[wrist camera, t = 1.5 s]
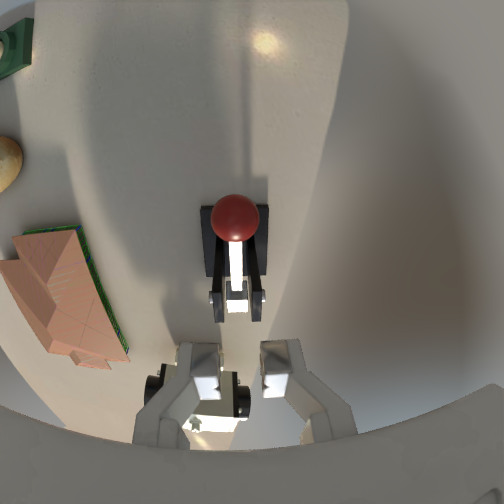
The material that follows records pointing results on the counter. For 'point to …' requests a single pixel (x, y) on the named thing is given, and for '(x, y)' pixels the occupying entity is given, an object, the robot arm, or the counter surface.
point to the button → (1, 48)
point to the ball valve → (209, 411)
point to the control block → (16, 47)
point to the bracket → (220, 262)
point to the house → (63, 297)
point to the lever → (235, 242)
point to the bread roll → (9, 161)
